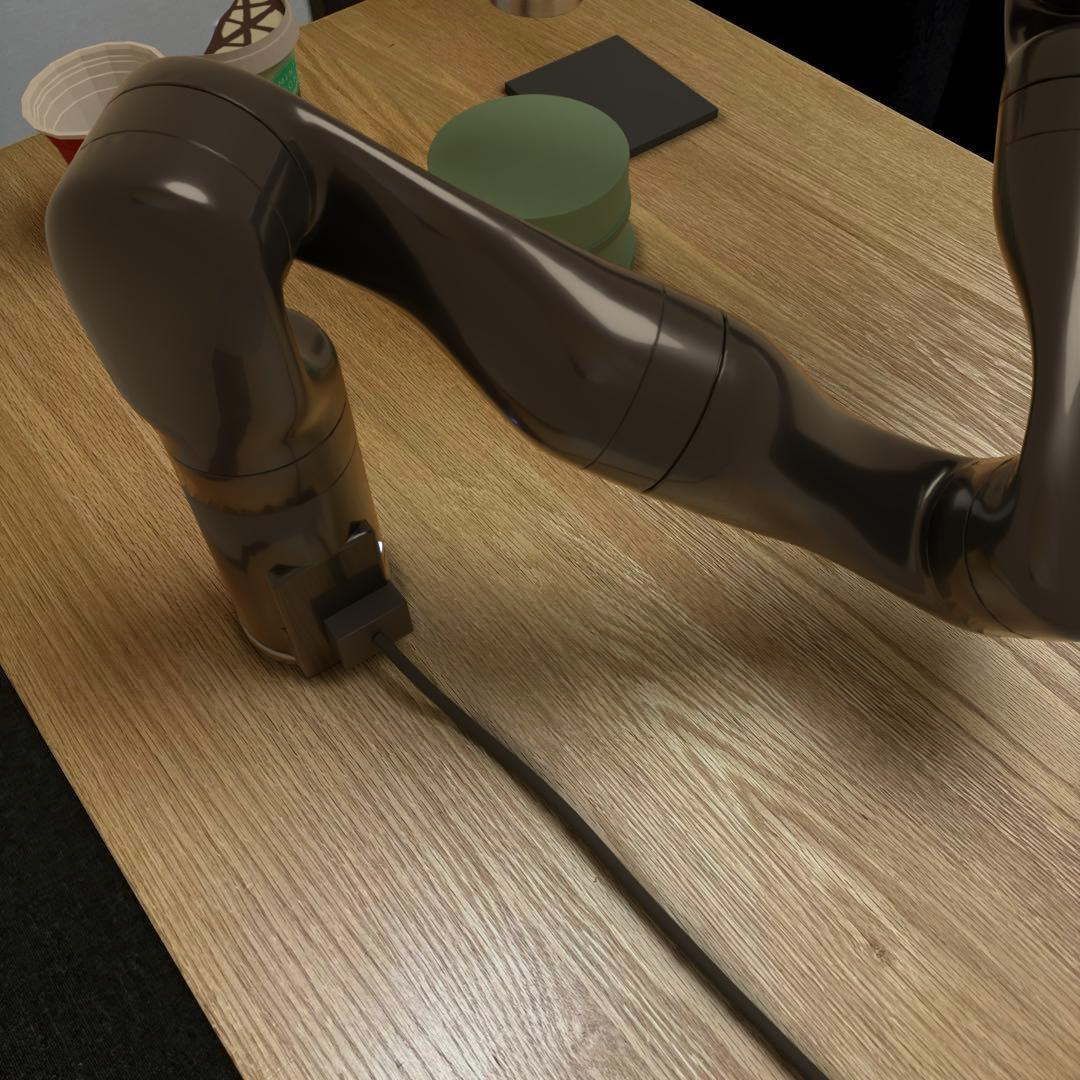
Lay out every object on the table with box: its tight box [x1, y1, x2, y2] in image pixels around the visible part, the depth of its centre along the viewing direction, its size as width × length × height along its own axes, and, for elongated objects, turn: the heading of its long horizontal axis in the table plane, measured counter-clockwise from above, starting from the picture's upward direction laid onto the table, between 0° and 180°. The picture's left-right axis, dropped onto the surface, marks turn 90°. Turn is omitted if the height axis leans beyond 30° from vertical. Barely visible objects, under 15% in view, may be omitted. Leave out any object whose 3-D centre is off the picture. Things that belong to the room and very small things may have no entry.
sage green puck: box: [426, 94, 636, 270], centre depth 86 cm, size 15×15×9 cm
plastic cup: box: [20, 40, 166, 166], centre depth 89 cm, size 11×11×12 cm
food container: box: [191, 0, 302, 98], centre depth 96 cm, size 12×6×10 cm, turn 171°
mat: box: [504, 34, 719, 159], centre depth 100 cm, size 14×12×1 cm
